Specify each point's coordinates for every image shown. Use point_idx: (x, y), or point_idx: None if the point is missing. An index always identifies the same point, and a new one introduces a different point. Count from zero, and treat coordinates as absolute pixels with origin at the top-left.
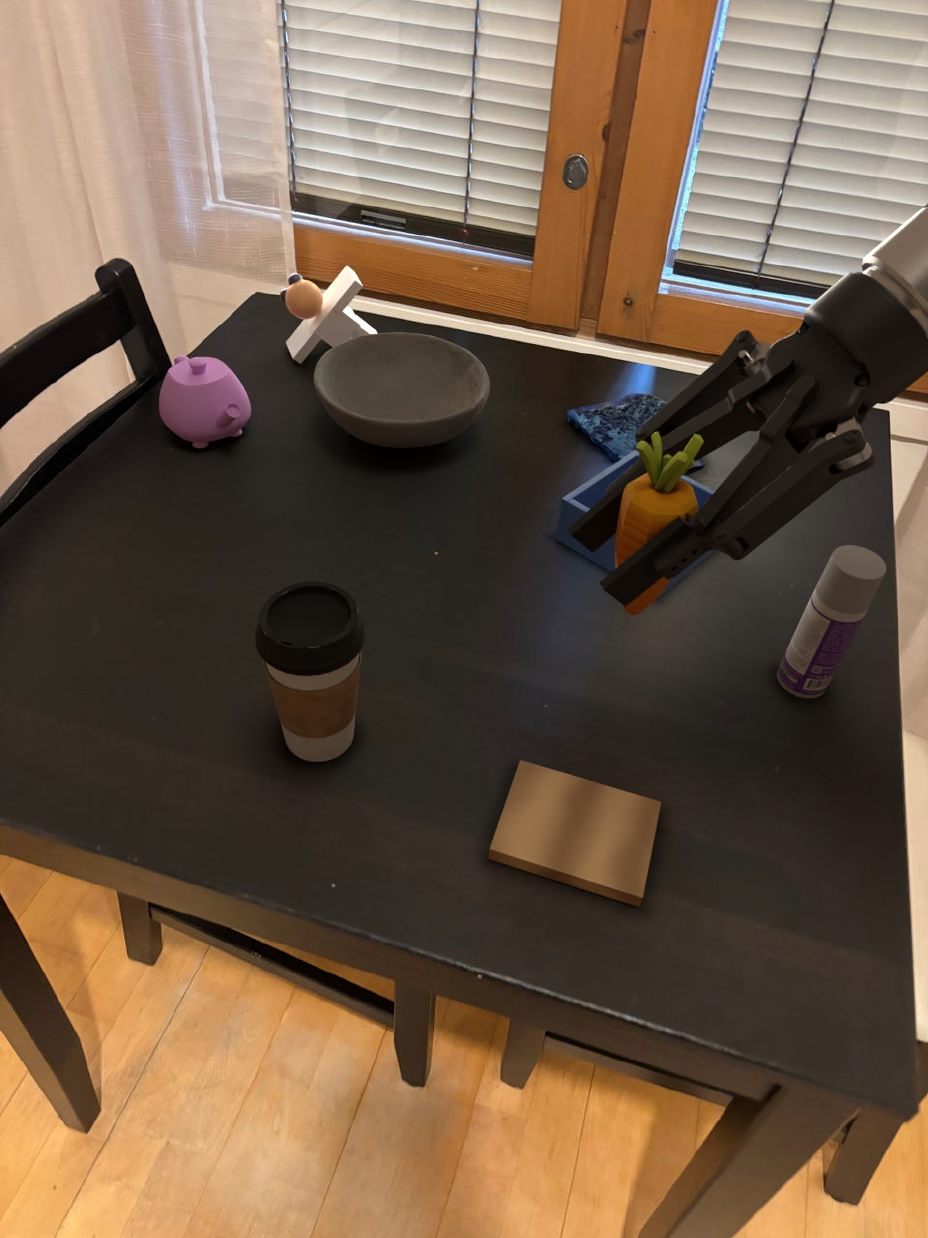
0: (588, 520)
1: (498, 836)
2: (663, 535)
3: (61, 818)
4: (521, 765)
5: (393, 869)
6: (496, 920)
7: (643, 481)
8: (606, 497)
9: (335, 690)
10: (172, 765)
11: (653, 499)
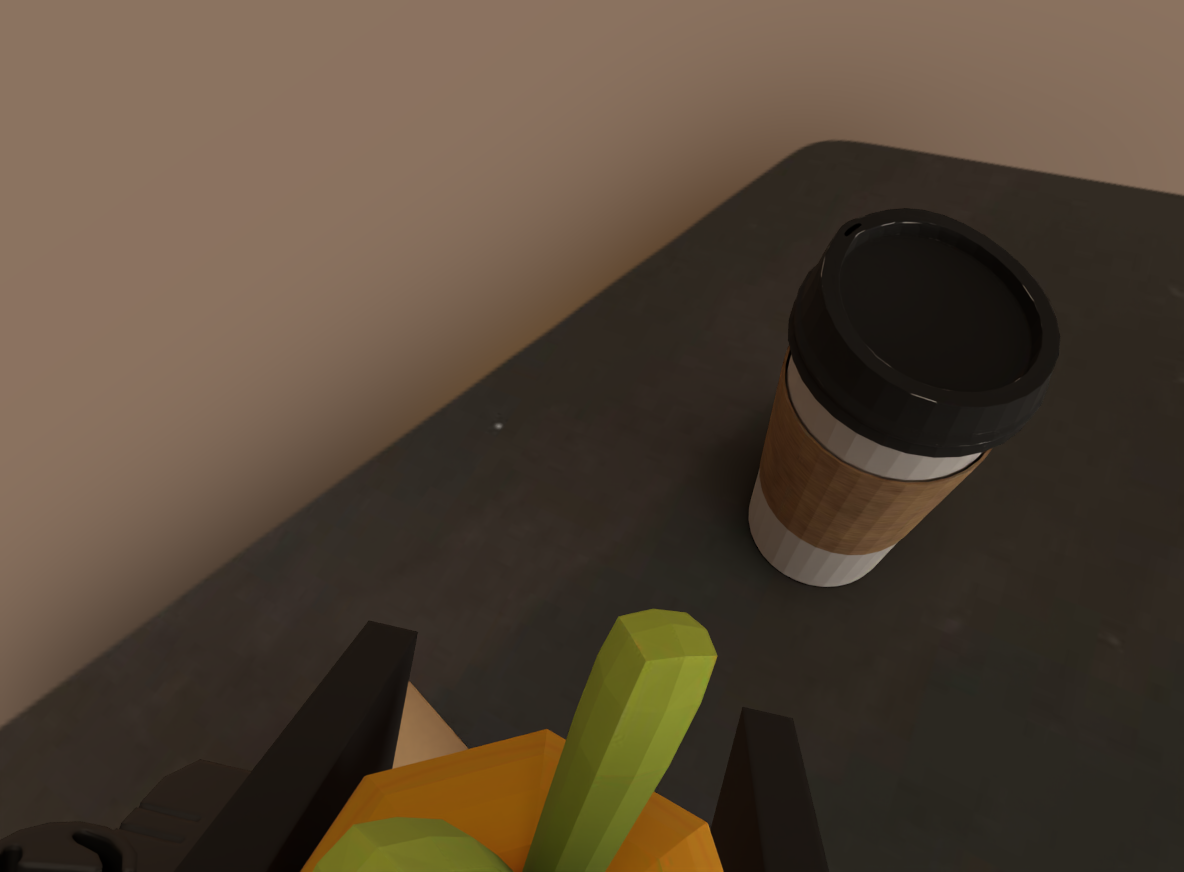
0: (750, 760)
1: (408, 695)
2: (259, 813)
3: (789, 176)
4: None
5: (473, 517)
6: (279, 626)
7: (629, 868)
8: (809, 854)
9: (782, 398)
10: None
11: (434, 807)
